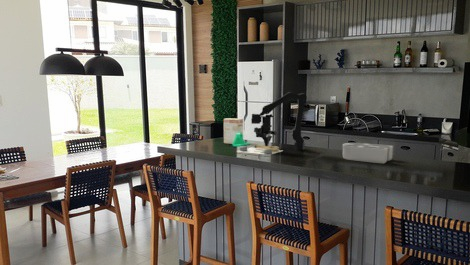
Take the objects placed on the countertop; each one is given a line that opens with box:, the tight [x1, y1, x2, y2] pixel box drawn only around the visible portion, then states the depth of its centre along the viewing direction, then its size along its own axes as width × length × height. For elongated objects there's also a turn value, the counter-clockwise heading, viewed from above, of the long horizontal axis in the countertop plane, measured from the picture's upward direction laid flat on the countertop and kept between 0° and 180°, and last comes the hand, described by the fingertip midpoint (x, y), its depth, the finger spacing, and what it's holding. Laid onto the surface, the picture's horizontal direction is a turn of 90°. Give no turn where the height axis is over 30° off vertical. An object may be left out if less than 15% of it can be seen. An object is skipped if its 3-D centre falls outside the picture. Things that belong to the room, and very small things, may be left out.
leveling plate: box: [235, 145, 283, 158], centre depth 272 cm, size 26×19×4 cm
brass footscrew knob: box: [253, 144, 280, 151], centre depth 275 cm, size 18×6×3 cm, turn 56°
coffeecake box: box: [223, 117, 244, 145], centre depth 316 cm, size 15×7×20 cm, turn 46°
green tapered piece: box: [232, 133, 251, 148], centre depth 301 cm, size 12×8×10 cm, turn 138°
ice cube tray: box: [342, 142, 394, 164], centre depth 248 cm, size 17×28×9 cm, turn 53°
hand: (266, 146), depth 280 cm, fingers closed
